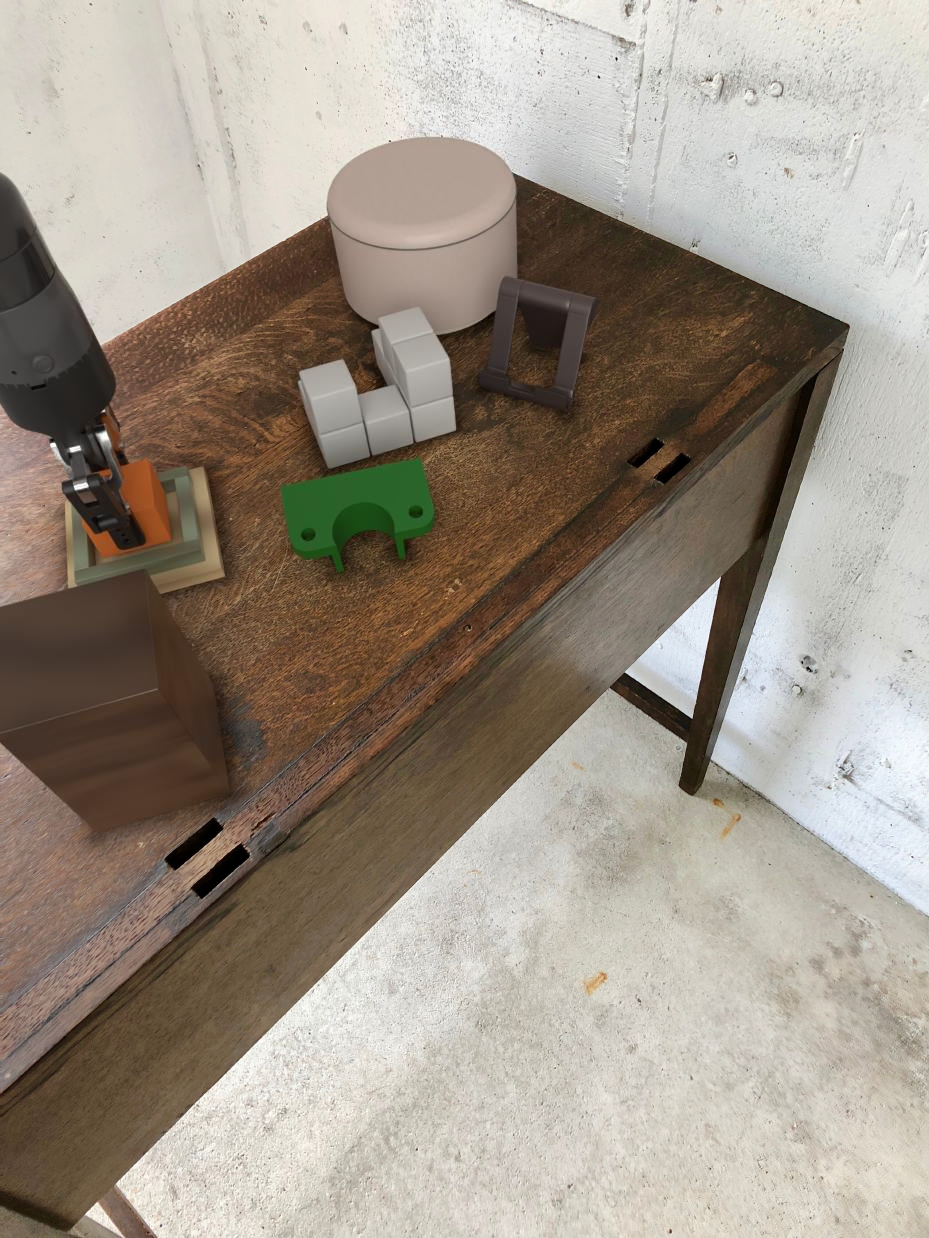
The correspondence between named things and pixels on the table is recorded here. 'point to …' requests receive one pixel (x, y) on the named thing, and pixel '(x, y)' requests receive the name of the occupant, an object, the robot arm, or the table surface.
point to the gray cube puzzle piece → (383, 394)
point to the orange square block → (139, 508)
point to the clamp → (358, 508)
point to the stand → (109, 702)
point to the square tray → (166, 563)
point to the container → (425, 230)
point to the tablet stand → (539, 338)
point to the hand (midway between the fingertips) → (130, 517)
